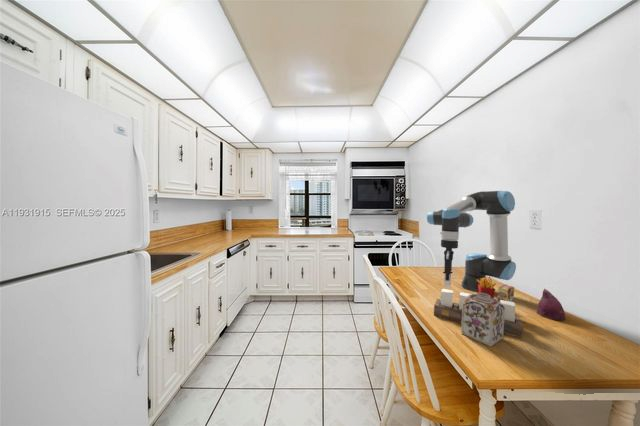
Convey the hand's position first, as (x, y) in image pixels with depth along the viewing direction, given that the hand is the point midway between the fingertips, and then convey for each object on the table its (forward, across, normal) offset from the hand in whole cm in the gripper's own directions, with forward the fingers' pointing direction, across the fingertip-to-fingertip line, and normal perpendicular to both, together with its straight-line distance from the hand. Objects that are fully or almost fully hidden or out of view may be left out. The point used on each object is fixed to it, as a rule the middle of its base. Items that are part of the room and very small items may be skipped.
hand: (447, 286), depth 120 cm
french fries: (+14, -29, +16) cm, 36 cm away
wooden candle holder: (+14, 0, +12) cm, 19 cm away
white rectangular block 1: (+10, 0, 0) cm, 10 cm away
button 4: (+9, 0, +24) cm, 26 cm away
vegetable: (+14, -31, +44) cm, 56 cm away
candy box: (+14, -15, +24) cm, 32 cm away
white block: (+9, 0, +8) cm, 12 cm away
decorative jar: (+15, +14, +15) cm, 25 cm away
